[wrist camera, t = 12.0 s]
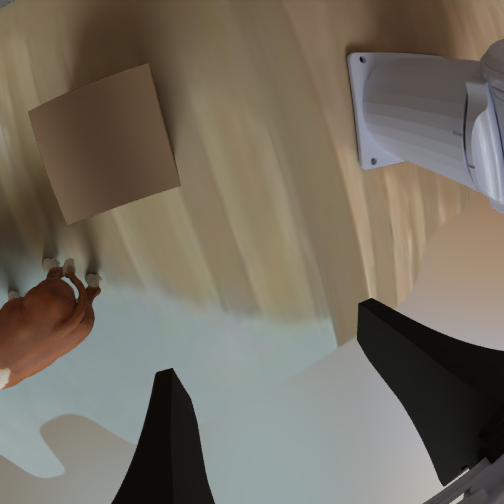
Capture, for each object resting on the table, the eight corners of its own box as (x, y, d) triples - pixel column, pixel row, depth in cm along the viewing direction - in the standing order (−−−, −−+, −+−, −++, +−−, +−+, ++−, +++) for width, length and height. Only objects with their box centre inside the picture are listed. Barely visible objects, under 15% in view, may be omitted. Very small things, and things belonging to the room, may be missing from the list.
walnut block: (153, 75, 15) (148, 63, 9) (174, 158, 17) (180, 185, 12) (69, 105, 14) (28, 111, 9) (94, 185, 16) (67, 225, 11)
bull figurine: (-32, 305, 17) (-72, 379, 10) (89, 227, 17) (55, 309, 10) (0, 344, 19) (-27, 422, 12) (124, 281, 20) (116, 376, 13)
